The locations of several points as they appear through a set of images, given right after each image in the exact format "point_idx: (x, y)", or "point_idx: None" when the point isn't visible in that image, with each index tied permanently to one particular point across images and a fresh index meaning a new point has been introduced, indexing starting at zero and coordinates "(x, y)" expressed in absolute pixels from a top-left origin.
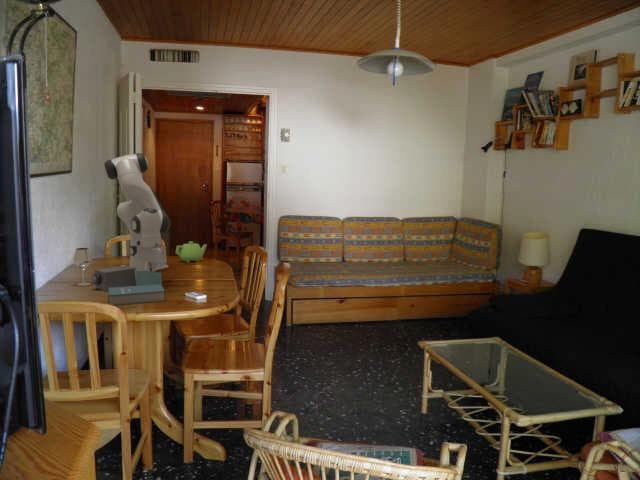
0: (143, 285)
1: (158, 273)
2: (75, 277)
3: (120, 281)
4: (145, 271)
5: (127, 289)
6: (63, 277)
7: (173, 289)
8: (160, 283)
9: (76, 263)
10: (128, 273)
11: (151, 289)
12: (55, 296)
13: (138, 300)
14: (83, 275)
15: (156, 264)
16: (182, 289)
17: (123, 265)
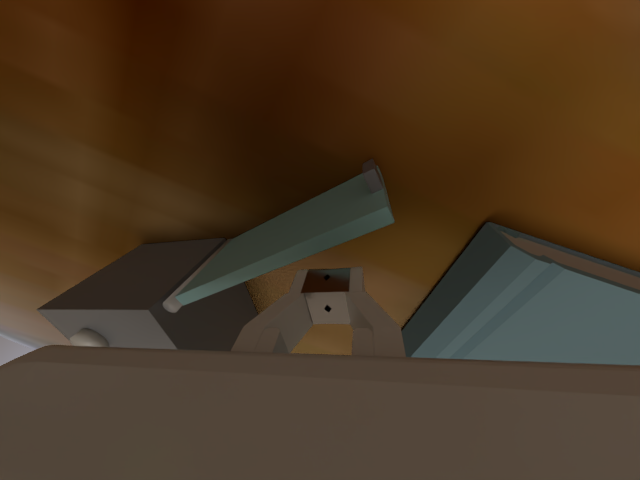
0: (463, 340)
1: (373, 226)
2: (21, 315)
3: (237, 328)
4: (243, 281)
5: None
6: (24, 332)
7: (464, 94)
8: (384, 184)
9: None
10: (199, 327)
11: (619, 363)
12: None
13: None
14: None
15: (400, 334)
16: (542, 10)
17: (77, 343)
